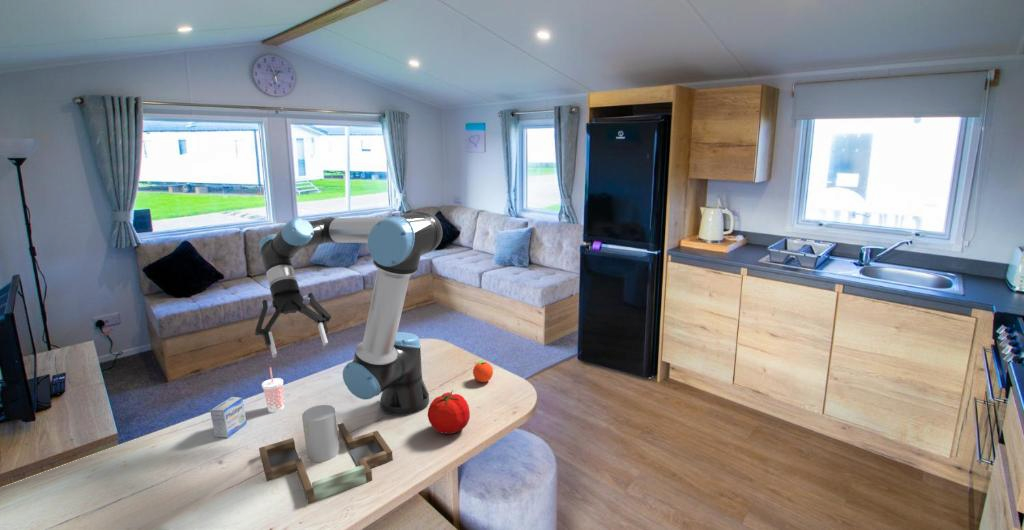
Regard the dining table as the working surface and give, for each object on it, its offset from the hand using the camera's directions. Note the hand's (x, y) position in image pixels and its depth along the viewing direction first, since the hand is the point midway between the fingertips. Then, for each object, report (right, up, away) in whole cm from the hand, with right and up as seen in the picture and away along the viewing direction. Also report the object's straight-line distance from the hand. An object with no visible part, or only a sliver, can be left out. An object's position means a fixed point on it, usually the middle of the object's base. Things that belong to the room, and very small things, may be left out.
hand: (301, 350), depth 142 cm
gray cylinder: (+8, -27, -5) cm, 29 cm away
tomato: (+41, -24, +5) cm, 48 cm away
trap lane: (+11, -28, -9) cm, 31 cm away
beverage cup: (-15, -22, +18) cm, 32 cm away
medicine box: (-23, -25, +7) cm, 35 cm away
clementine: (+48, -17, +35) cm, 62 cm away
